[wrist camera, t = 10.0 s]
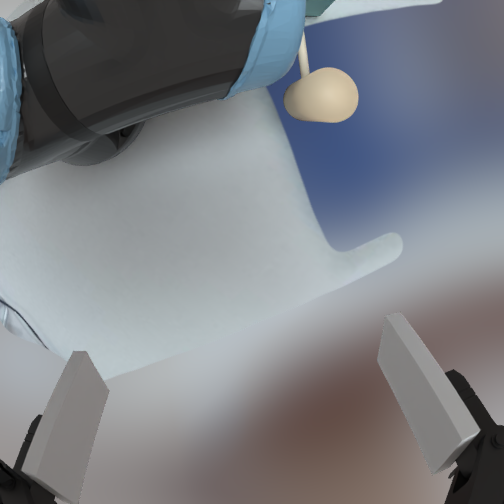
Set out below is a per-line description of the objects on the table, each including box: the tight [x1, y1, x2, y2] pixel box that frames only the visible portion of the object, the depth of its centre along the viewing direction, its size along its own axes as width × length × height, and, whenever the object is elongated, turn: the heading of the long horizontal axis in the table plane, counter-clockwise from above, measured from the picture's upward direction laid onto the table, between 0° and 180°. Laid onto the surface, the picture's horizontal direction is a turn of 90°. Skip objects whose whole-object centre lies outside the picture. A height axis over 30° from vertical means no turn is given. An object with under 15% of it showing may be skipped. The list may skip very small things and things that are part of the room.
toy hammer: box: [283, 0, 358, 122], centre depth 24 cm, size 6×20×10 cm, turn 6°
